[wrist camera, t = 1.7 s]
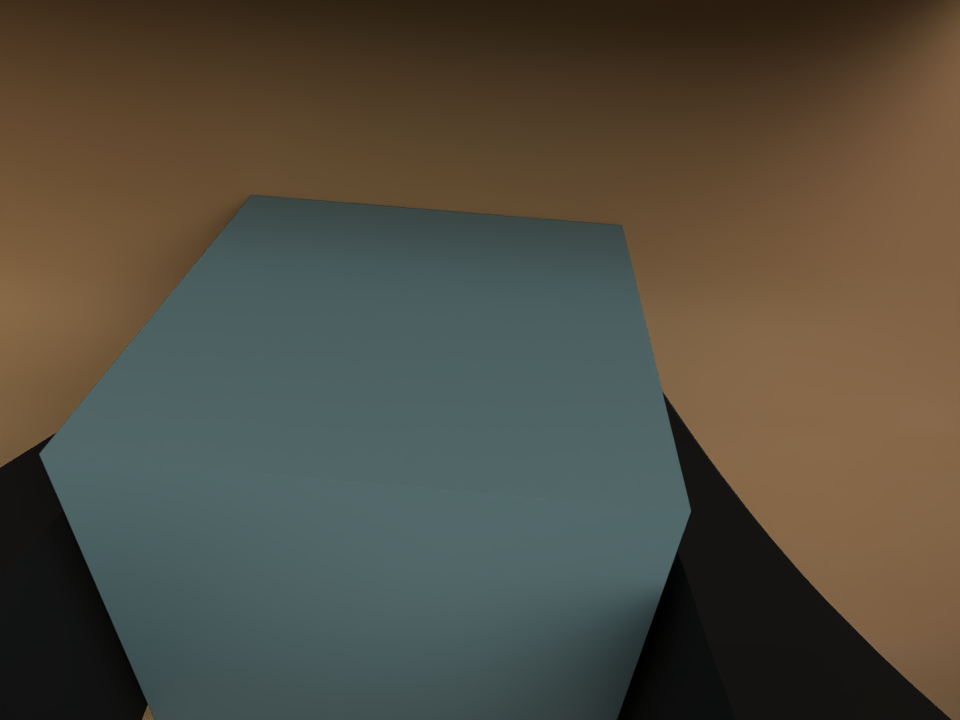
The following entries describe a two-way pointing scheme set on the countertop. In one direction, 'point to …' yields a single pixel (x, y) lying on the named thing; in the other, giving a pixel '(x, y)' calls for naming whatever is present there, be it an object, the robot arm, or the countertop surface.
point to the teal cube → (382, 472)
